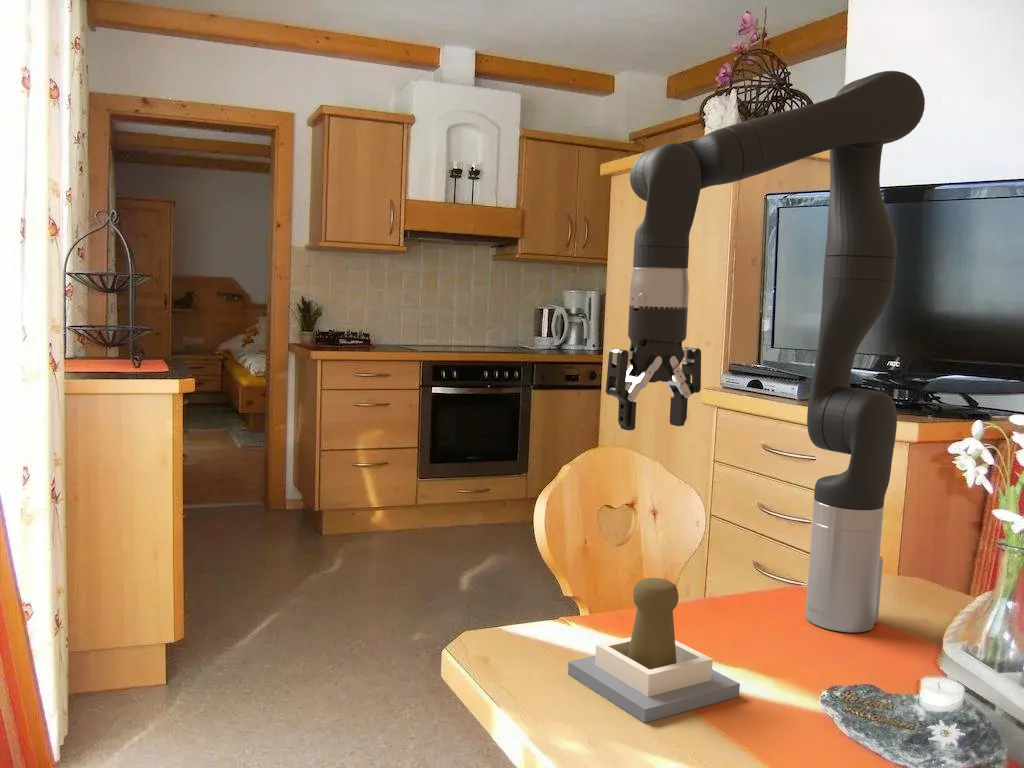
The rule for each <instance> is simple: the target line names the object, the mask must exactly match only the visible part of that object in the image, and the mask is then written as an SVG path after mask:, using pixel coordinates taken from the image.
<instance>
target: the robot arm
mask: <svg viewBox="0 0 1024 768" xmlns="http://www.w3.org/2000/svg"><path fill="white" fill-rule="evenodd" d="M925 99H926V98H925V94H924V91H923V88H922V87H921V85H920V83H919V82H918V81H917V80H916V79H915V78H914V77H912V76H911V75H910V74H908V73H906V72H902V71H898V70H884V71H880V72H875V73H872V74H871V75H868V76H865V77H862V78H858V79H856V80H854V81H851V82H849V83H847V84H845V85H844V86H843V87H841V88H840V89H839V90H838V92H837V93H836V94H835V96H833V97H830V98H828V99H824V100H822V101H819V102H816V103H813V104H808V105H803V106H801V107H798V108H794V109H789V110H785V111H781V112H777V113H773V114H772V113H771V114H768V115H764V116H760V117H757V118H755V117H754V118H752V119H749V120H746V121H741V122H738V123H736V124H731V125H728V126H725V127H722V128H718V129H715V130H713V131H711V132H709V133H706V134H704V135H701V136H699V137H697V138H696V137H695V138H693V139H689V140H685V141H682V142H671V143H670V142H669V143H666V144H663V145H660V146H657V147H654V148H652V149H649V150H647V151H644V152H643V153H642V154H640V155H639V156H637V158H636V159H635V161H634V162H633V164H632V167H631V168H630V171H629V183H630V186H631V189H632V191H633V192H634V194H635V195H636V196H637V197H638V198H639V199H641V200H642V201H644V202H645V204H646V205H645V213H644V218H643V221H642V222H641V223H640V224H639V225H638V226H637V228H636V230H635V233H634V241H633V257H632V259H633V260H632V261H633V262H632V267H633V268H632V274H631V279H630V285H629V300H628V302H629V303H628V325H627V327H628V328H627V336H628V338H629V340H630V346H629V348H628V350H627V349H621V348H611V349H610V350H609V352H608V361H607V370H606V371H607V372H606V373H607V374H606V382H605V393H606V395H608V396H611V397H614V398H616V399H617V400H618V414H617V416H618V418H617V422H618V425H619V427H620V429H621V430H625V431H634V430H635V429H636V420H637V419H636V418H637V417H636V416H637V415H636V414H637V401H635V400H636V398H637V397H638V396H639V393H640V392H641V390H642V389H645V388H646V387H647V386H648V383H652V384H653V383H658V382H662V383H664V385H666V386H667V388H668V389H669V391H670V393H671V395H672V396H670V406H669V407H670V408H669V424H670V425H671V426H674V427H684V426H685V423H686V421H687V417H688V402H689V398H690V397H691V395H693V394H695V393H696V394H698V393H699V392H701V391H702V390H701V389H702V350H701V349H700V348H697V347H688V346H687V347H686V346H685V347H683V342H684V341H685V340H686V339H687V333H688V332H687V329H688V312H689V311H688V310H689V297H690V296H689V295H690V293H689V292H690V284H689V259H690V258H689V257H690V233H691V230H692V227H693V224H694V221H695V214H696V211H697V206H698V203H699V199H700V195H701V193H700V192H701V190H703V189H706V188H708V187H713V186H719V185H726V184H732V183H735V182H738V181H741V180H745V179H748V178H750V177H755V176H757V175H761V174H763V173H767V172H769V171H773V170H776V169H778V168H780V167H784V166H787V165H788V164H791V163H794V162H798V161H800V160H802V159H806V158H809V157H811V156H814V155H818V154H821V153H823V152H827V151H829V171H830V172H829V175H830V178H829V179H830V180H829V181H830V182H829V183H830V185H829V187H830V188H829V197H828V199H829V201H828V213H827V214H828V215H827V216H828V217H827V232H826V241H825V252H824V260H823V261H824V262H823V273H822V294H821V295H822V297H821V299H822V301H821V312H820V323H819V333H818V334H819V335H818V342H817V350H816V356H815V363H814V369H813V375H812V381H811V385H810V390H809V395H808V402H807V403H808V404H807V413H806V426H807V433H808V436H809V439H810V441H811V443H812V444H813V445H814V446H815V447H816V448H819V449H821V450H824V451H825V450H826V451H830V452H835V453H840V454H845V455H850V459H849V463H848V466H847V469H846V470H845V471H844V472H841V473H839V474H833V475H826V476H822V477H819V478H818V479H817V480H816V482H815V484H814V491H813V493H814V494H813V495H814V496H813V505H812V506H813V508H812V519H811V535H810V549H809V550H810V551H809V561H808V572H807V575H808V577H807V589H806V598H805V599H806V601H805V613H804V614H805V615H804V617H805V619H806V620H807V621H808V622H810V623H812V624H813V625H815V626H818V627H820V628H822V629H827V630H830V631H837V632H843V633H863V632H864V633H865V632H868V631H871V630H872V629H873V628H875V626H874V625H875V624H876V623H879V614H880V611H879V610H880V603H881V601H880V599H881V590H882V589H881V588H882V587H881V586H882V579H883V578H882V575H883V563H884V559H883V557H882V556H881V547H882V546H881V545H882V544H881V543H882V534H883V533H882V532H883V522H884V521H883V519H884V508H885V507H884V506H885V498H886V494H887V490H888V487H889V484H890V479H891V472H892V471H891V470H892V464H893V459H894V458H893V457H894V452H895V451H894V450H895V442H896V436H897V430H898V429H897V427H898V413H897V408H896V404H895V402H894V400H893V398H892V396H890V395H889V394H888V393H886V392H884V391H879V390H872V389H863V388H856V387H851V375H852V369H853V364H854V360H855V356H856V354H857V351H858V349H859V347H860V346H861V343H862V342H863V341H864V340H865V337H866V336H867V334H869V332H870V330H871V329H872V328H873V326H874V325H875V324H876V323H877V321H878V319H880V317H881V315H882V314H883V312H884V311H885V309H886V308H887V306H888V304H889V302H890V300H891V299H892V296H893V293H894V288H895V287H894V286H895V278H896V267H897V266H896V265H897V259H896V258H897V253H898V252H897V251H898V250H897V241H896V235H895V232H894V228H893V225H892V222H891V219H890V216H889V214H888V211H887V207H886V205H885V202H884V200H883V197H882V191H881V184H880V182H881V181H880V179H881V177H880V174H881V161H882V153H883V148H884V147H883V146H884V145H886V144H890V143H894V142H897V141H899V140H902V139H903V138H904V137H906V136H907V135H909V134H911V132H912V131H914V130H915V129H916V127H917V126H918V124H920V123H921V120H922V118H923V116H924V112H925V108H926V107H925V106H926V102H925V101H926V100H925ZM629 365H630V367H629ZM680 365H681V366H680ZM628 367H629V368H628Z"/></svg>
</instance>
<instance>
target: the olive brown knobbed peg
mask: <svg viewBox="0 0 1024 768" xmlns="http://www.w3.org/2000/svg"><path fill="white" fill-rule="evenodd" d="M679 597H680V596H679V590H678V588H677V586H676V584H675V583H673V582H672V581H670V580H667V579H665V578H660V577H644V578H642V579H639V580H638V581H637V582H636V584H635V585H634V588H633V590H632V598H633V603H634V605H635V607H636V611H635V618H634V622H633V627H632V628H633V629H632V631H631V642H630V647H629V653H628V658H630V659H632V660H633V661H635V662H637V663H639V664H641V665H642V666H644V667H646V668H648V669H649V670H651V669H655V668H659V667H663V666H667V665H672V664H676V663H677V661H676V648H675V640H676V638H675V636H676V635H675V625H674V624H675V622H674V610H675V609H676V607H677V605H678V603H679Z"/></svg>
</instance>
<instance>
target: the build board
mask: <svg viewBox="0 0 1024 768" xmlns="http://www.w3.org/2000/svg"><path fill="white" fill-rule="evenodd" d="M631 637H632V636H631ZM631 637H626V638H621V639H616V640H611V641H606V642H601V643H598V644H595V655H593V656H592V655H591V656H588V657H584V658H579V659H574V660H570V661H568V662H567V675H569V676H571V677H572V678H573V679H576V680H577V681H579V682H580V683H581V684H582V685H584V686H586V687H587V688H590V690H592V691H594V692H596V693H597V694H598V695H600V696H601V697H603V698H605V699H606V700H608V701H609V702H611V703H612V704H614V705H615V706H617V707H618V708H620V709H621V710H623V711H625V712H627V713H628V714H629V715H631V716H633V717H634V718H636V719H637V720H639V721H641V723H644V724H645V723H646V724H647V723H650V722H653V721H657V720H660V719H664V718H667V717H671V716H674V715H678V714H682V713H685V712H688V711H692V710H695V709H699V708H703V707H706V706H710V705H714V704H716V703H721V702H725V701H728V700H731V699H735V698H738V697H740V688H741V683H739V682H737V681H736V680H734V679H732V678H729V677H727V676H726V675H724V674H722V673H720V672H718V671H716V670H714V669H713V662H714V660H713V658H711V657H709V656H707V655H705V654H704V653H702V652H700V651H697V650H696V649H694V648H692V647H690V646H688V645H686V644H684V643H682V642H679V641H678V640H676V639H675V648H676V661H677V663H676V664H672V665H667V666H663V667H659V668H655V669H651V670H649V669H648V668H646V667H644V666H642V665H641V664H639V663H637V662H635V661H633V660H632V659H630V658H628V653H629V647H630V642H631Z"/></svg>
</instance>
